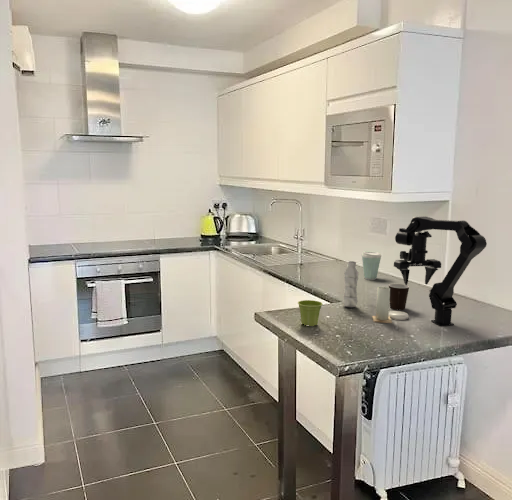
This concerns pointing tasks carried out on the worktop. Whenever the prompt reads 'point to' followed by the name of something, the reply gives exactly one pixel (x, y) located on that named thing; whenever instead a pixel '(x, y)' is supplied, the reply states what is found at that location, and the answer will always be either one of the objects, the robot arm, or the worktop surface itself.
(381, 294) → the tumbler
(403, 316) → the ivory rounded dome part
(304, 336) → the worktop surface
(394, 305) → the coffee mug
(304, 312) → the plant pot
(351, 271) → the plastic bottle
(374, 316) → the coaster
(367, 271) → the disposable coffee cup
